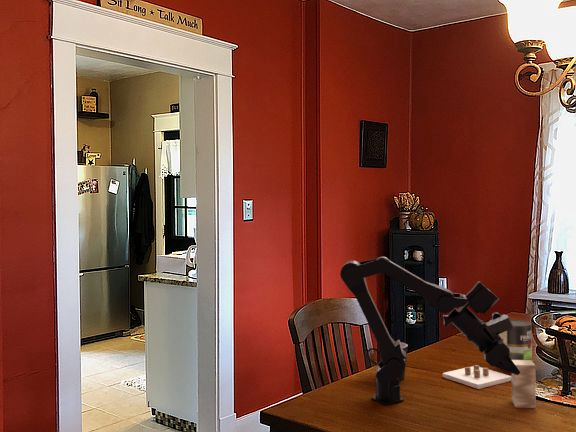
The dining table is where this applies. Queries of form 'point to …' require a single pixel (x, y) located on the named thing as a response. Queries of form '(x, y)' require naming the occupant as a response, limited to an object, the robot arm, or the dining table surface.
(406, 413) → the dining table surface
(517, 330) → the coffee can
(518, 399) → the birch block
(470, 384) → the peg stand
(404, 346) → the coffee mug
